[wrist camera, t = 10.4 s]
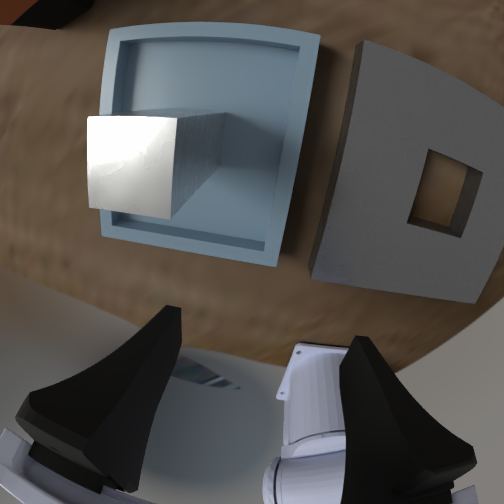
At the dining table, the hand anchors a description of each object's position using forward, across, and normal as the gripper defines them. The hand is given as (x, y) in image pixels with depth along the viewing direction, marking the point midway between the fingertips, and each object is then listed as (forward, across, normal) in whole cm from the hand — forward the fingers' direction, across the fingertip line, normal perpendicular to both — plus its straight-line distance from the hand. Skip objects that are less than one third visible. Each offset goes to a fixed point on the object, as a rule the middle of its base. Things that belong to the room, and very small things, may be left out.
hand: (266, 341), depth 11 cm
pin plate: (+10, -11, -6) cm, 16 cm away
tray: (+10, +6, -6) cm, 13 cm away
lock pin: (+10, +6, -6) cm, 13 cm away
